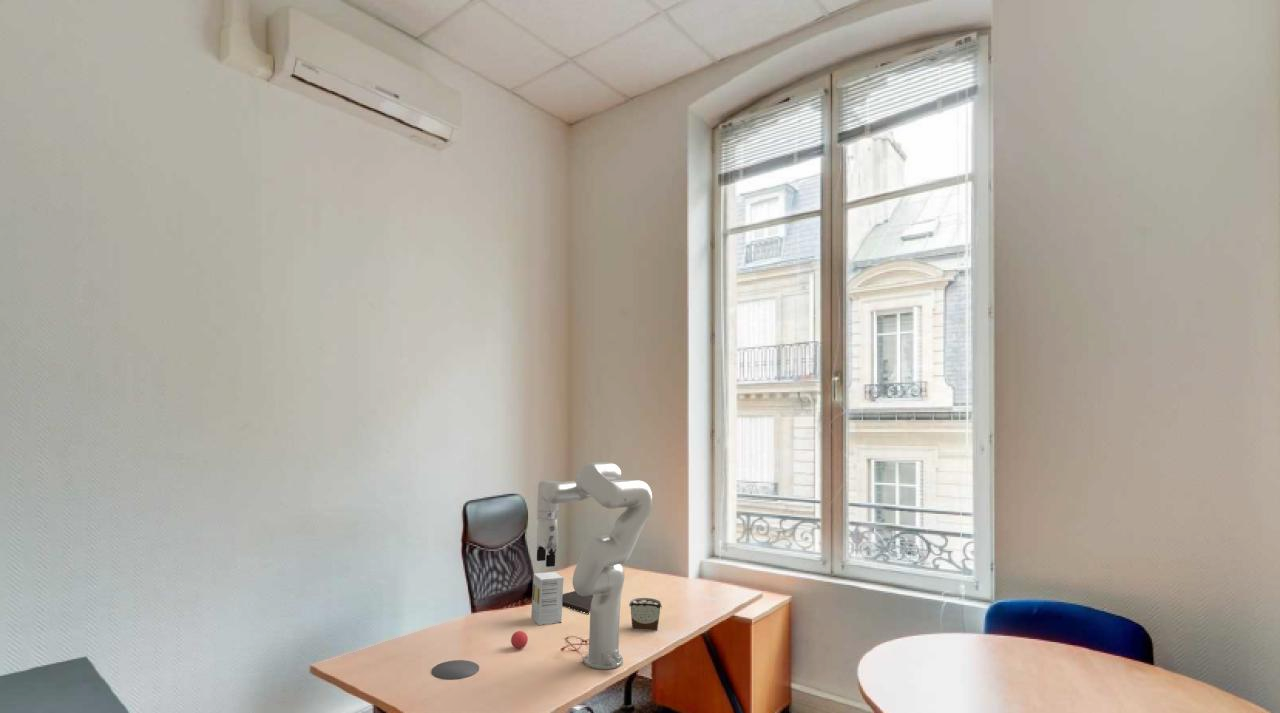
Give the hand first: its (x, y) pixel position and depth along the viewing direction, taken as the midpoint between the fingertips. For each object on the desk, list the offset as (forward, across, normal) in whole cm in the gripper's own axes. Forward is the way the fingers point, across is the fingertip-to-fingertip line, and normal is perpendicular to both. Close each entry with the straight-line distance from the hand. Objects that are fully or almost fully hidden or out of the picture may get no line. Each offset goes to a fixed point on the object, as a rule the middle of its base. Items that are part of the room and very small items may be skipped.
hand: (545, 563), depth 231 cm
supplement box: (+25, +14, -6) cm, 29 cm away
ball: (+22, -10, +12) cm, 27 cm away
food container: (+25, -7, -38) cm, 46 cm away
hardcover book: (+25, +28, -27) cm, 46 cm away
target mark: (+25, -19, +35) cm, 47 cm away
